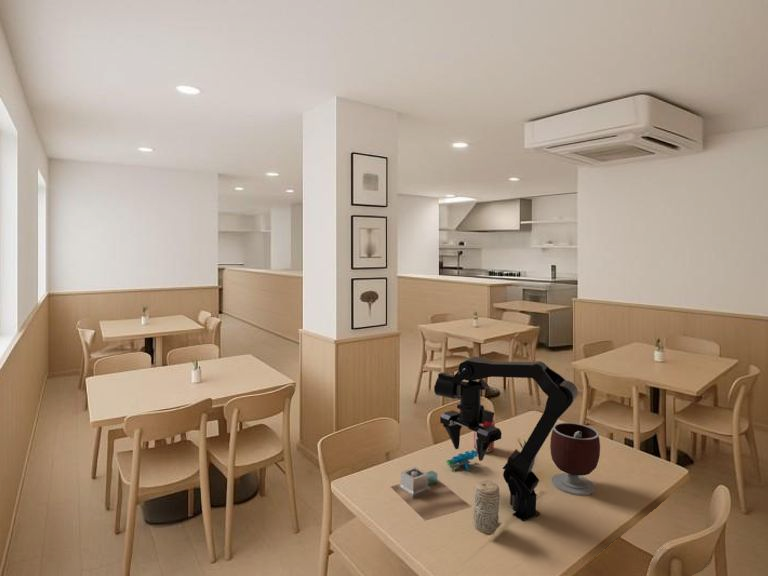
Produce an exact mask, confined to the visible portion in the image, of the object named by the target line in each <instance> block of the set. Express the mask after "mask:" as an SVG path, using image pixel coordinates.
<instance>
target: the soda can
mask: <svg viewBox="0 0 768 576" xmlns="http://www.w3.org/2000/svg"><path fill="white" fill-rule="evenodd" d="M495 424H496V423H495V420H494V419H493V421H492V423H490V422H487V421H485V423H484V424H480V425H479V426H482V427H485V426H488V425H491V426H494V427H496V425H495ZM477 439H478V437H477V432H475V431H473V447H474V450H475V451H477V444H476V440H477ZM494 448H495V441H494V442H491V443H490V445H489V447H488V449H487V451H486V453H487V454H488V453H490V452H492V451H493V450H494ZM486 453H485V454H486Z"/></svg>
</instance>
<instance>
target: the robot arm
mask: <svg viewBox="0 0 768 576" xmlns="http://www.w3.org/2000/svg"><path fill="white" fill-rule="evenodd" d="M486 378H515V379H516V378H517V379H518V378H520V379H521V378H522V379H532V380H533V381H535V382H536V384H537V385H538V387H539V388H540V389H541V391H542V392H543V393H544V394H545V395H546V396H547V399H546V403H545V406H544V410H543V411H544V412H543V413H542V414H541V417H540V418H539V419H538V422H537V423H536V425H535V426H534V429H532V432H531V433H530V434H529V437H528V439H526V442H525V444H524V445H523V448H522V449H521V450H520V451H519V450H518V449H517V448H516V449H514V451H513V452H512V453H511V454H510V455H509V456H508V459H507V462H506V463H505V465H503V467H502V469H503V473H502V477H503V479H504V481H505V483H506V484H507V486H508V490H509V492H510V493H509V494H510V497H509V498H510V499H509V504H510V506H511V507H512V510H513V511H514V512H513V515H514V516H515V517H516V518H518V519H519V520H520V521H527V520H529V519H532V518H535V517H538V516H540V515H541V512H540V511H538V510H537V493H536V492H535V491H536V490H535V489H536V488H537V486H538V484H539V482H540V479H539V478H538V477H537V475H536V474H535V473H534V472H533V467H534V465H535V461H536V458H537V455H538V453H539V452H540V450H541V449H542V447H543V445H544V444H545V442H546V440H547V438H548V437H549V435H550V433H552V430H553V427H554V425H555V424H557V421H558V420H559V418H560V417H561V416H562V415H564V413H565V412H566V411H567V410H568V409H569V408H570V407H571V405H572V404H573V403H574V401H576V399H577V398H578V396H579V390H578V387H577V386H576V385H575V383H573V382H572V381H570V380H566V379H565V378H564V377H563V376H562V375H561V374H559V373H558V372H556V371H555V370H553V369H551V368H550V367H549V366H548V365H547V364H546V363H545V362H544V361H539V360H537V361H534V362H533V361H494V360H490V359H487V358H485V357H480V356H471V357H469V358H467V359H465V360H463V361H461V362H460V364H459V366H458V371H457V372H456V373H455V374H450V373H446V372H443V371H442V372H440V373H438V374H437V378H436V380H435V384H434V387H433V389H434V394H435V396H439V397H443V398H449V399H453V400H454V399H456V398H457V397H459V398H460V399H459V404H457V405H456V409H457V410H458V409H459V412H458V411H456V410H449V411H446V412H442V413H441V415H440V418H439V419H440V420H439V421H440V424H443V425H442V427H444V429H445V431H446V432H447V434H448V436H449V439H450V440H451V443H452V445H453V447H454V449H455V450H458V449H459V448H460V442H461V441H460V440H461V439H460V438H461V430H462V428H463V427H464V428H466V429H468V430H471V431H473V432H474V431H475V432H477V437H478V439H477V440H476V444H477V450H476V451H477V452H478V454H477V455H478V456H477V457H478V461H480V462H481V461H483V460H484V458H485V456H486V451H487V449H488V447H489V445H490V443H491V442H494V443H495V441H496V442H497V441H499V440H502V430H501V429H500V428H499V427H496V426H495V427H494V426H491V425H488V426H485V427H482V426H479V425H480V424H484V423H485V421H487V422H490V423H492V421H493V420H494V416H495V412H494V411H492V410H491V411H490V410H488V409H487V408H486V409H485V406H484V405H483V404H481V401H482V400H481V399H482V391H485V390H486V389H488V388H489V384H488V383H487V382H486V381H485V380H484V379H486ZM478 380H479V381H478Z"/></svg>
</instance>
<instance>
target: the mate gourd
mask: <svg viewBox="0 0 768 576" xmlns="http://www.w3.org/2000/svg"><path fill="white" fill-rule="evenodd" d="M599 436H600V433H599V431H598V430H597V429H595V428H594V427H592V426H589V425H587V424H586V425H585V424H581V423H577V422H558V423H555V425H554V427H553V428H552V430H551V435H550V442H549V443H550V448H549V449H550V456H551V461H552V462H553V463H554V464H555V466H556V467H557V469H559V470H560V471H562V473H556V474H554V475H553V476H552V477H551V484H552V486H553V487H554V488H555V489H557V490H558V491H561V492H562V493H566V494H569V495H572V496H573V495H574V496H589V495H592V494H594V492H595V491H596V490H595V488H596V486H595V484H594V483H593V481H591V480H590V479H589V478H586V477H584V476H588V475H590V474H591V473H592V472H593V471H595V469H596V468H597V466H598V463H599V459H600V455H601V443H600V437H599ZM591 493H592V494H591Z"/></svg>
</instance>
